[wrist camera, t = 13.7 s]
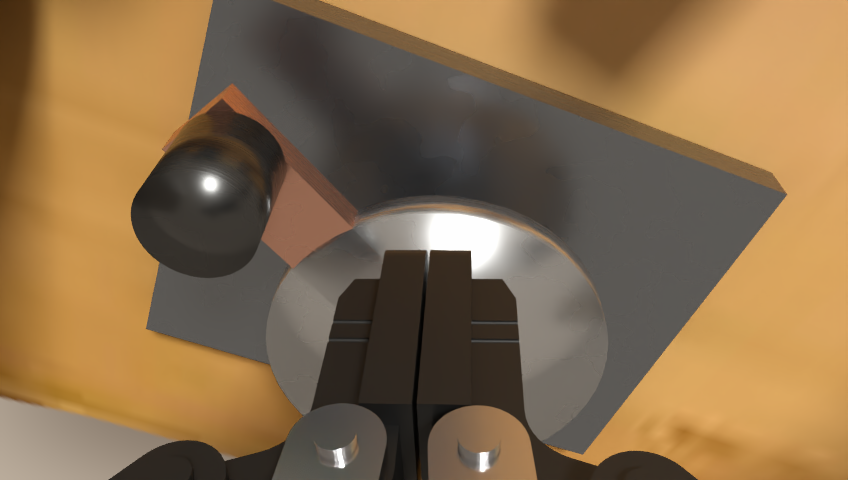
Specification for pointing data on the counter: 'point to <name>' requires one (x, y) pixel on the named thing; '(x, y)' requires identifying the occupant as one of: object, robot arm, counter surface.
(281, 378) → the handwheel
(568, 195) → the base
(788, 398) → the counter surface
